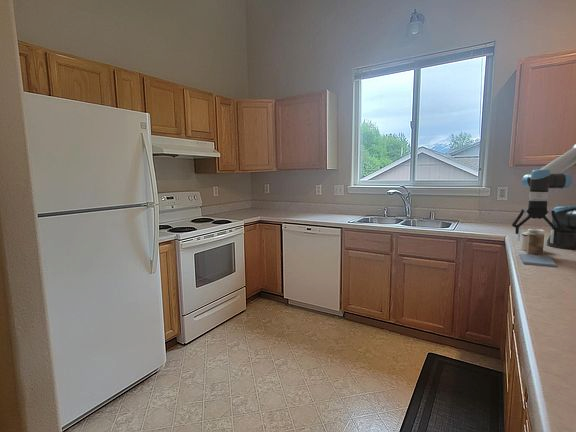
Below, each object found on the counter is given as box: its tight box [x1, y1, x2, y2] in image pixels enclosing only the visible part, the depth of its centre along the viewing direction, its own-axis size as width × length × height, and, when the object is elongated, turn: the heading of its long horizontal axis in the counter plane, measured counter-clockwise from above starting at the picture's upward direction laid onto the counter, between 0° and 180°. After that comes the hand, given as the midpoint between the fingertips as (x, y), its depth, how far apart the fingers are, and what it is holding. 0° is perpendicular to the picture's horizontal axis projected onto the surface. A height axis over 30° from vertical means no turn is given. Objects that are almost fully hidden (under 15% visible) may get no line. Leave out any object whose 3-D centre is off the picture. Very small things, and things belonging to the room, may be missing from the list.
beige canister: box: [526, 228, 546, 256], centre depth 165 cm, size 6×6×13 cm
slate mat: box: [518, 253, 557, 268], centre depth 155 cm, size 12×18×1 cm, turn 150°
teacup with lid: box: [520, 230, 528, 252], centre depth 177 cm, size 12×9×12 cm
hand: (534, 241), depth 165 cm, fingers open, 13 cm apart
